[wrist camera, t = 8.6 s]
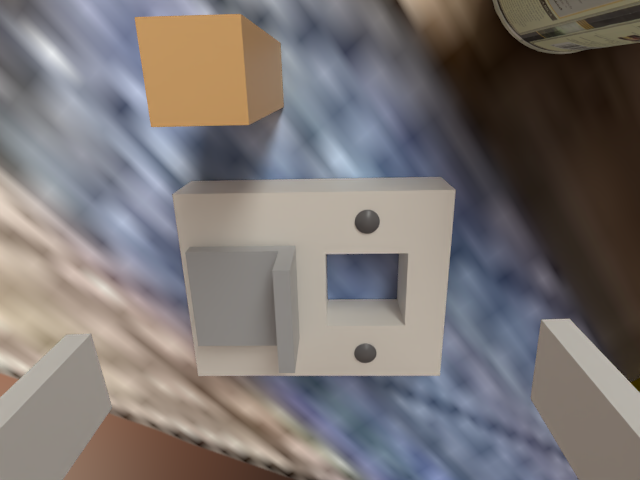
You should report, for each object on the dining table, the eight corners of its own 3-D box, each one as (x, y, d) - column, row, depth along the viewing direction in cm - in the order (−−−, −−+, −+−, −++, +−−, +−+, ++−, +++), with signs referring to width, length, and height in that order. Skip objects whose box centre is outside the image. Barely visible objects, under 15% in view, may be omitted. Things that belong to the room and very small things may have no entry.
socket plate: (440, 176, 31) (456, 190, 27) (428, 344, 36) (440, 376, 32) (191, 180, 32) (171, 194, 28) (212, 345, 36) (197, 376, 33)
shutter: (295, 245, 29) (289, 270, 25) (299, 337, 31) (294, 372, 27) (190, 246, 29) (168, 271, 25) (202, 337, 31) (184, 373, 27)
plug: (280, 43, 28) (240, 14, 16) (283, 107, 30) (248, 124, 17) (219, 44, 28) (134, 17, 16) (225, 108, 30) (151, 126, 18)
